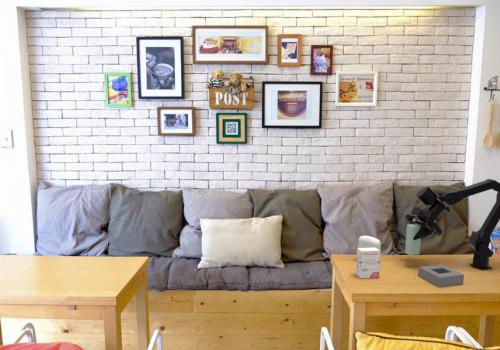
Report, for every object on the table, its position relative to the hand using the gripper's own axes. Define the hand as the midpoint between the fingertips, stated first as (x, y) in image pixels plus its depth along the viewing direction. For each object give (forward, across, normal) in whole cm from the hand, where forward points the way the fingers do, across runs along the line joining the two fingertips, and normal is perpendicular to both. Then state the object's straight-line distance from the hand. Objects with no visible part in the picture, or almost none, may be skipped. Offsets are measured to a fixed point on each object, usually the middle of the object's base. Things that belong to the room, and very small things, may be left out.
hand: (410, 238), depth 181 cm
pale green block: (+4, 0, +6) cm, 7 cm away
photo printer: (+20, -10, -1) cm, 22 cm away
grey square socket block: (+7, +16, +11) cm, 21 cm away
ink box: (+27, +4, -8) cm, 28 cm away
